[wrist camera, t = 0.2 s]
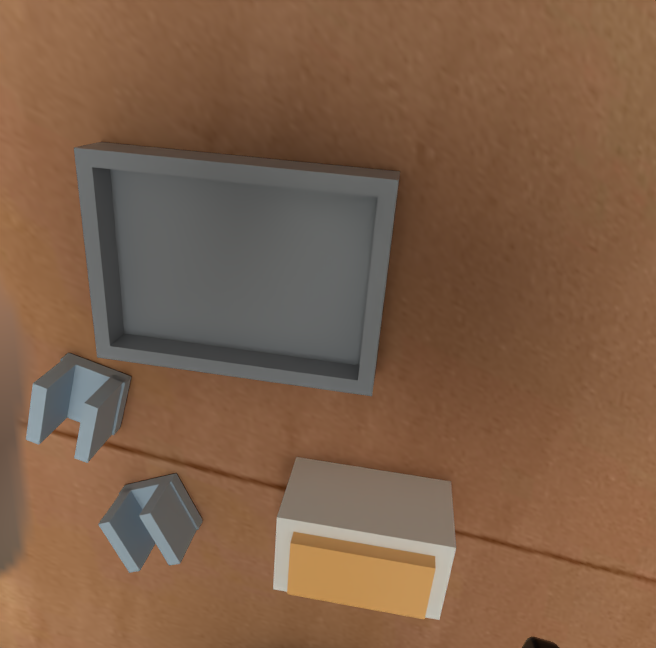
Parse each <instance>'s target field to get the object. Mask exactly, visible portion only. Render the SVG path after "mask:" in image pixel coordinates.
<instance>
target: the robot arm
mask: <svg viewBox="0 0 656 648" xmlns="http://www.w3.org/2000/svg"><path fill="white" fill-rule="evenodd" d="M522 648H559V647H558V646H557V645H556V644H555V643H553V642H550V641H547V640H544V639H540V638H537V637H530V638H528V639H527V640H526V641H525V643H524V645H523V647H522Z"/></svg>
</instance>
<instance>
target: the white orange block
mask: <svg viewBox="0 0 656 648" xmlns="http://www.w3.org/2000/svg"><path fill="white" fill-rule="evenodd" d="M455 551H456V540H455V527H454V513H453V500H452V487H451V481H445V480H439V479H432V478H426V477H420V476H414V475H407V474H401V473H395V472H388V471H382V470H376V469H369V468H363V467H357V466H351V465H344V464H338V463H332V462H325V461H319V460H313V459H306V458H300V457H296V460H295V463H294V466H293V469H292V472H291V475H290V478H289V481H288V484H287V488H286V491H285V494H284V497H283V500H282V503H281V506H280V509H279V512H278V515H277V525H276V544H275V564H274V583H273V589H275V590H280V591H286V592H287V594H289V595H295V596H300V597H306V598H311V599H316V600H322V601H327V602H333V603H338V604H343V605H349V606H354V607H360V608H365V609H370V610H376V611H381V612H387V613H392V614H397V615H403V616H408V617H414V618H419V619H424V620H425V617H426V618H432V619H437V620H439V619H440V615H441V611H442V606H443V602H444V598H445V594H446V589H447V585H448V581H449V576H450V572H451V568H452V563H453V559H454V555H455Z"/></svg>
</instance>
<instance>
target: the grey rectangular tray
mask: <svg viewBox="0 0 656 648" xmlns="http://www.w3.org/2000/svg"><path fill="white" fill-rule="evenodd" d="M74 153H75V162H76V171H77V180H78V189H79V198H80V207H81V216H82V225H83V234H84V243H85V252H86V261H87V270H88V279H89V288H90V297H91V306H92V315H93V324H94V333H95V342H96V351H97V357H98V358H105V359H112V360H119V361H126V362H134V363H141V364H148V365H155V366H162V367H169V368H176V369H183V370H190V371H197V372H204V373H211V374H219V375H226V376H233V377H240V378H247V379H254V380H261V381H268V382H275V383H282V384H289V385H296V386H303V387H311V388H318V389H325V390H332V391H339V392H346V393H353V394H360V395H367V396H372V392H373V385H374V378H375V371H376V363H377V355H378V347H379V339H380V331H381V323H382V315H383V307H384V299H385V290H386V282H387V274H388V266H389V258H390V250H391V242H392V234H393V226H394V218H395V210H396V202H397V194H398V186H399V177H400V171H390V170H380V169H370V168H360V167H349V166H339V165H329V164H319V163H309V162H299V161H289V160H278V159H268V158H258V157H248V156H238V155H228V154H218V153H207V152H197V151H187V150H177V149H167V148H157V147H147V146H137V145H126V144H116V143H106V142H98V143H93V144H89V145H84V146H79V147H75V148H74Z"/></svg>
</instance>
